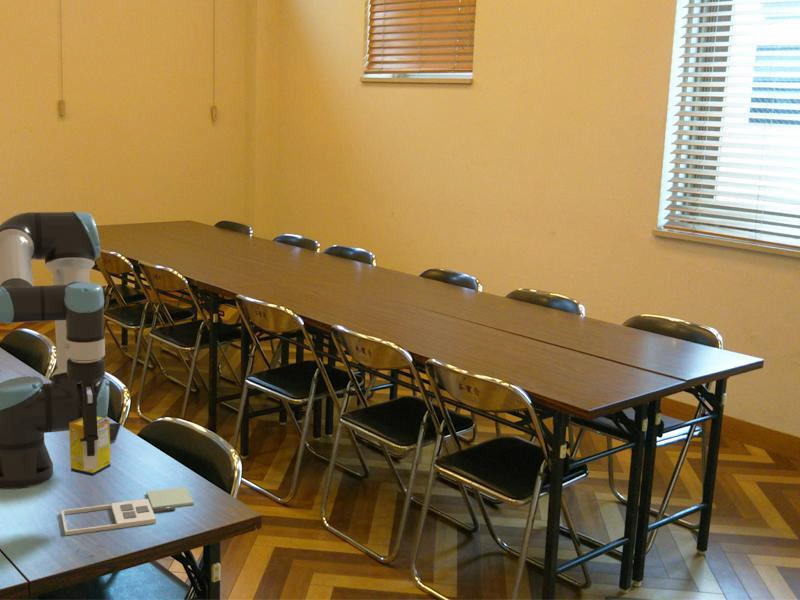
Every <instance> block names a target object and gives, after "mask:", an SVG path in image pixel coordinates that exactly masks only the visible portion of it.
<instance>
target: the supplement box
mask: <svg viewBox="0 0 800 600" xmlns="http://www.w3.org/2000/svg"><path fill="white" fill-rule="evenodd" d="M109 423H110V419H109V418H101V417H97V431H98V440H97V461H98V469H92V470H84V461H83V442H80V439H82V438H83V437H84V430H83V417H82V418H80V419H77V420H75V421H73V422H70V423H69V430H70V431H69V452H70V453H69V455H70V456H69V458H70V472H72V473H76V474H80V475H86V476H90V477H94V476H96V475H98V474H99V473H101V472H102V471H105V470H107V469H109V468H110V467H111V445H110V433H109ZM93 435H94V434H93Z"/></svg>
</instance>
